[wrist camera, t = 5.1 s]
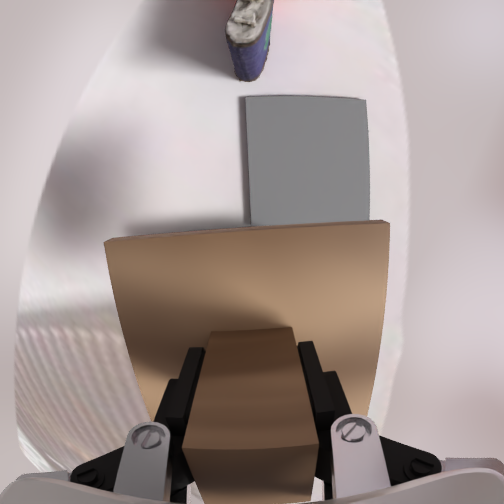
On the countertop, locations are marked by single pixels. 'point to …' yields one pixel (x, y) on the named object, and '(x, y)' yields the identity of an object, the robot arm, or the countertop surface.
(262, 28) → the flask
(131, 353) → the lid
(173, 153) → the countertop surface
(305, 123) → the mat
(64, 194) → the countertop surface
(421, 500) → the robot arm
